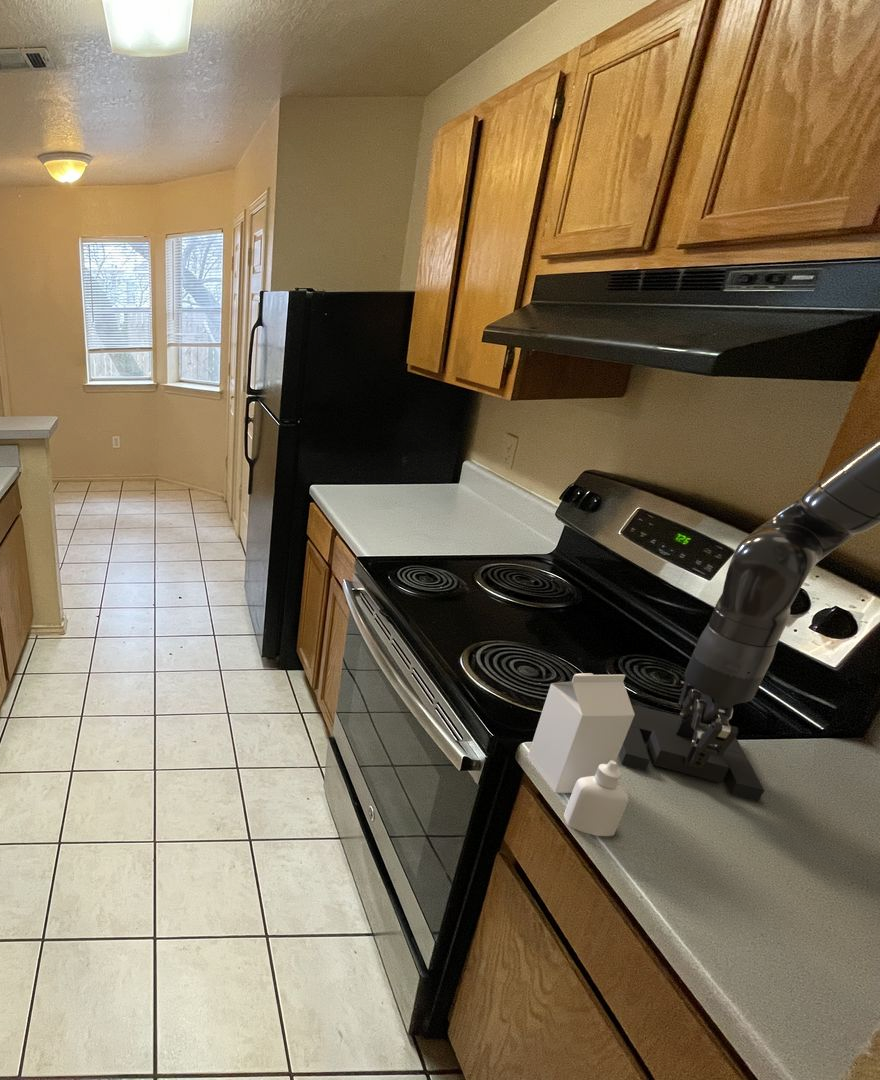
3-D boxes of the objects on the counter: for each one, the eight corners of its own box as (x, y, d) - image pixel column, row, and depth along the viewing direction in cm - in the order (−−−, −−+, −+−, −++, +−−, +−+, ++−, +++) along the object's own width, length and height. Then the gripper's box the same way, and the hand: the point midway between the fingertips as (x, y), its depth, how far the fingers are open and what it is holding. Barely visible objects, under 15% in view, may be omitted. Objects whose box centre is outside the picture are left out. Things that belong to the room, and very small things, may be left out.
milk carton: (602, 796, 86) (644, 691, 78) (553, 797, 86) (591, 692, 78) (571, 759, 92) (607, 659, 85) (525, 760, 92) (557, 660, 85)
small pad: (711, 760, 90) (718, 745, 89) (721, 783, 86) (729, 767, 85) (646, 743, 93) (652, 729, 92) (653, 765, 89) (660, 750, 88)
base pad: (723, 742, 95) (731, 727, 94) (756, 805, 84) (764, 790, 83) (604, 712, 102) (610, 699, 101) (619, 768, 91) (625, 753, 89)
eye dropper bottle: (568, 807, 84) (592, 742, 79) (615, 831, 80) (643, 765, 76) (558, 825, 81) (583, 759, 77) (607, 851, 78) (636, 783, 73)
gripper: (786, 697, 75) (735, 796, 82) (746, 640, 86) (704, 731, 93) (710, 681, 78) (667, 778, 85) (681, 628, 89) (645, 717, 96)
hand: (687, 752), depth 89 cm, fingers closed on small pad, 5 cm apart
